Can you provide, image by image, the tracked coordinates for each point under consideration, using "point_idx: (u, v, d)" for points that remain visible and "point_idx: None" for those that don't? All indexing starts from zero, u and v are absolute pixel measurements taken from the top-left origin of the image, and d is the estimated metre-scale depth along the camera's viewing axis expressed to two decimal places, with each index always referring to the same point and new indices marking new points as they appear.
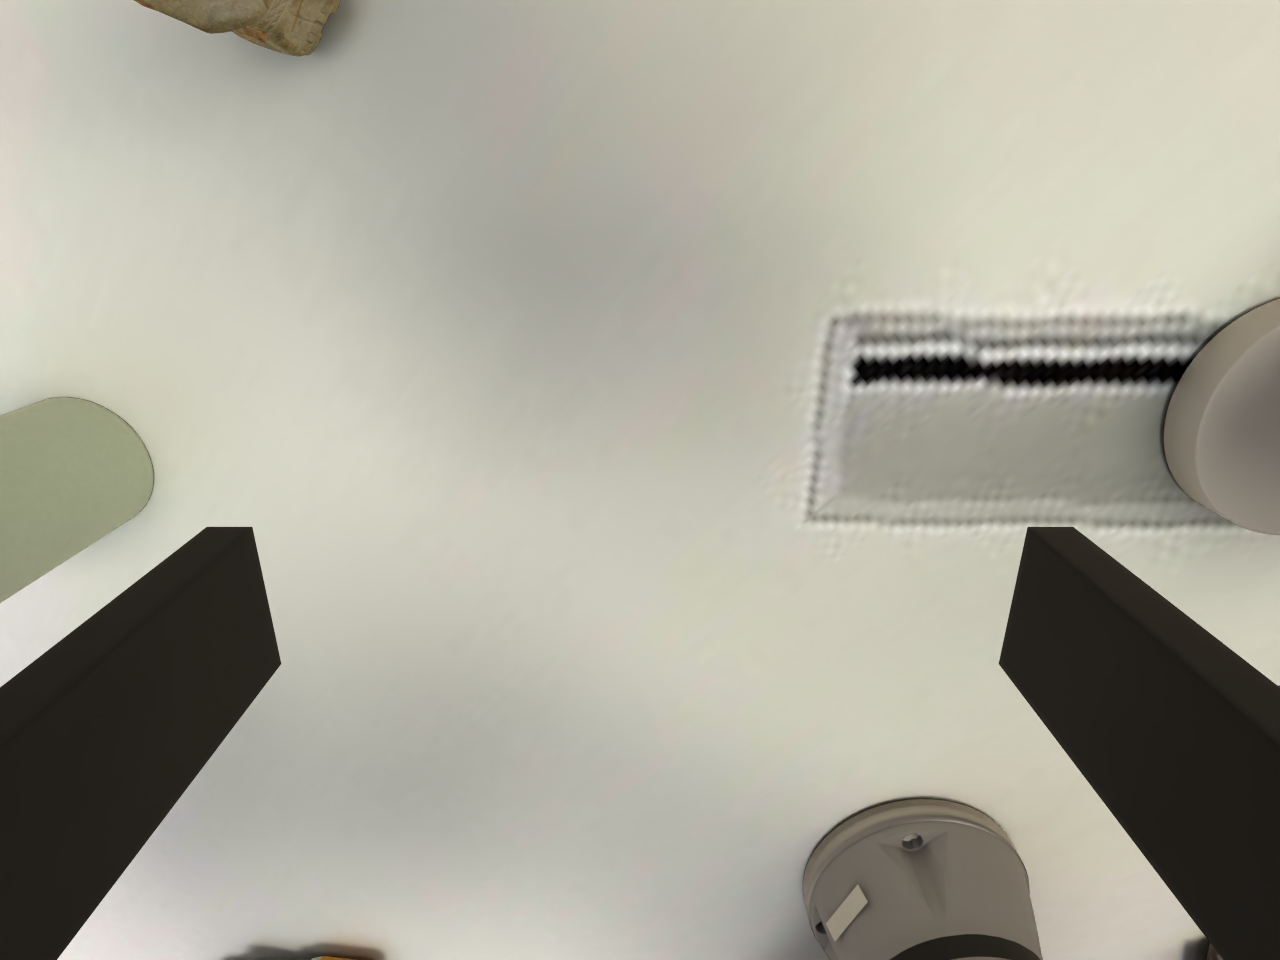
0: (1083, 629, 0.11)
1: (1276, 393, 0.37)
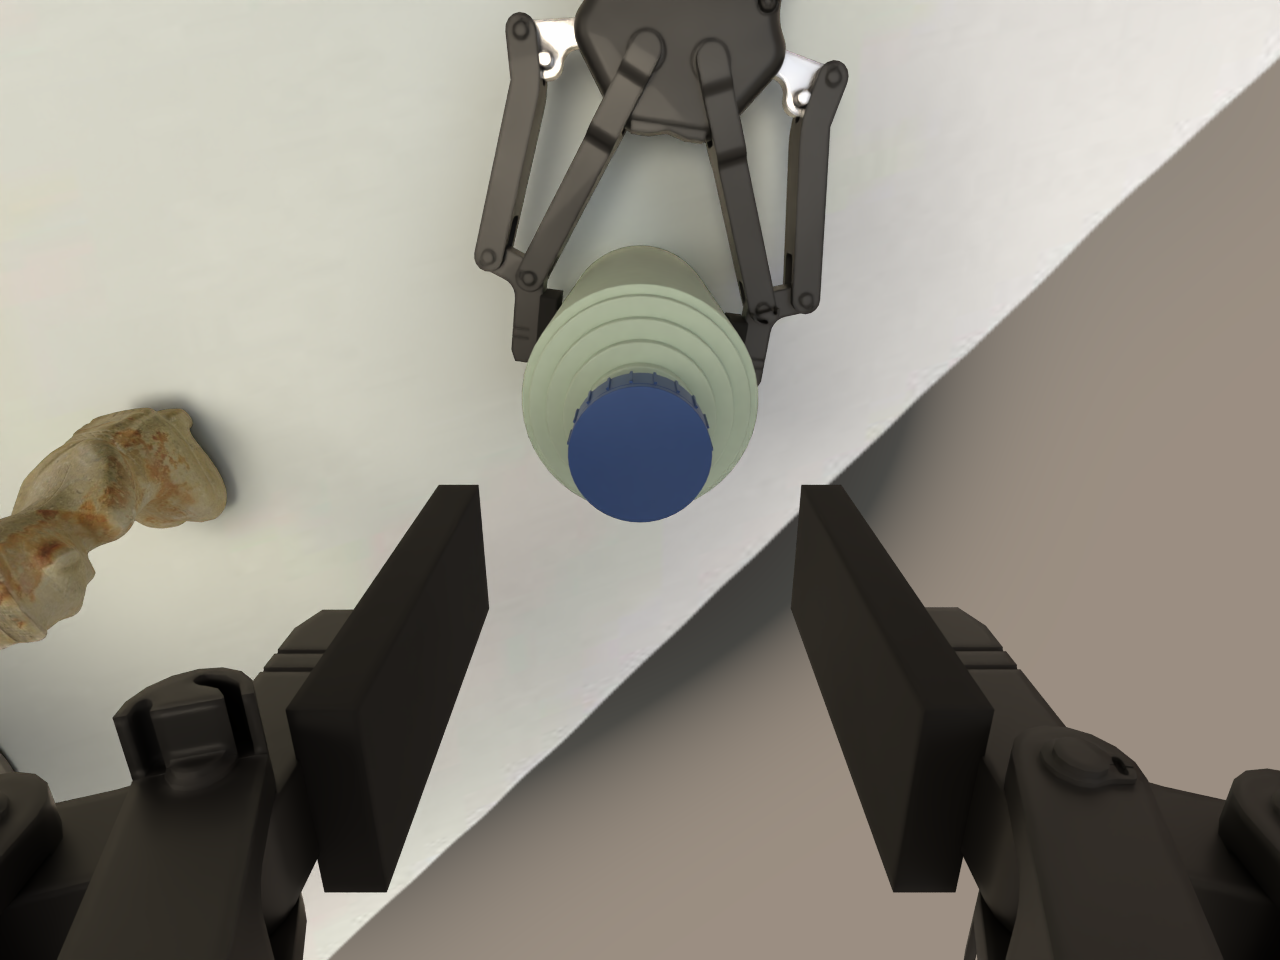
0: (821, 567, 0.12)
1: None
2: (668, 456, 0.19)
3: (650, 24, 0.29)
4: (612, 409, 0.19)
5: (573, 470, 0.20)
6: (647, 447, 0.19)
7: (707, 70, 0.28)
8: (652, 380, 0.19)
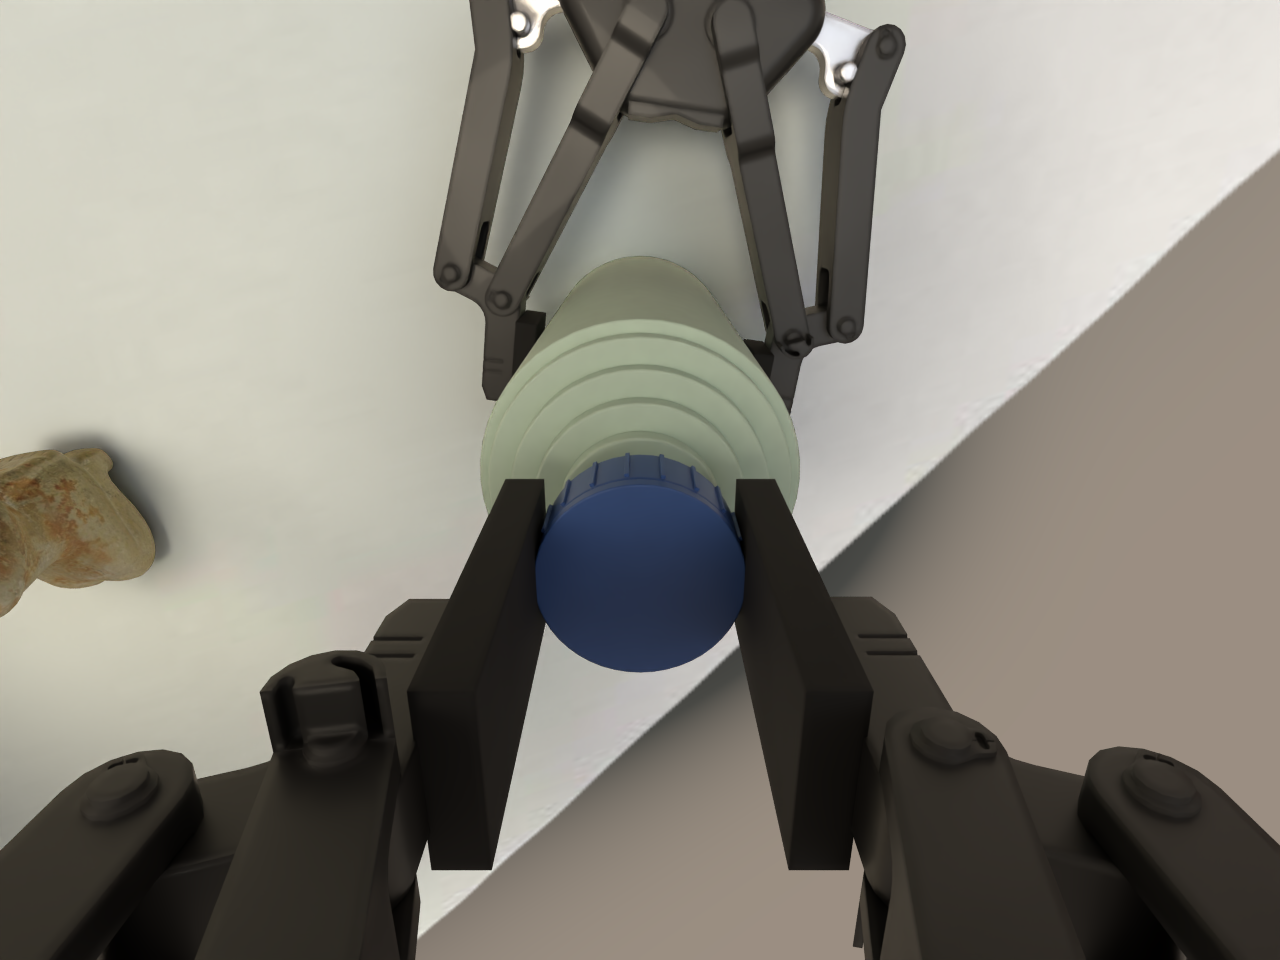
0: (747, 558, 0.13)
1: None
2: (682, 583, 0.13)
3: None
4: (598, 517, 0.13)
5: (542, 602, 0.13)
6: (651, 570, 0.13)
7: (726, 36, 0.22)
8: (658, 471, 0.13)
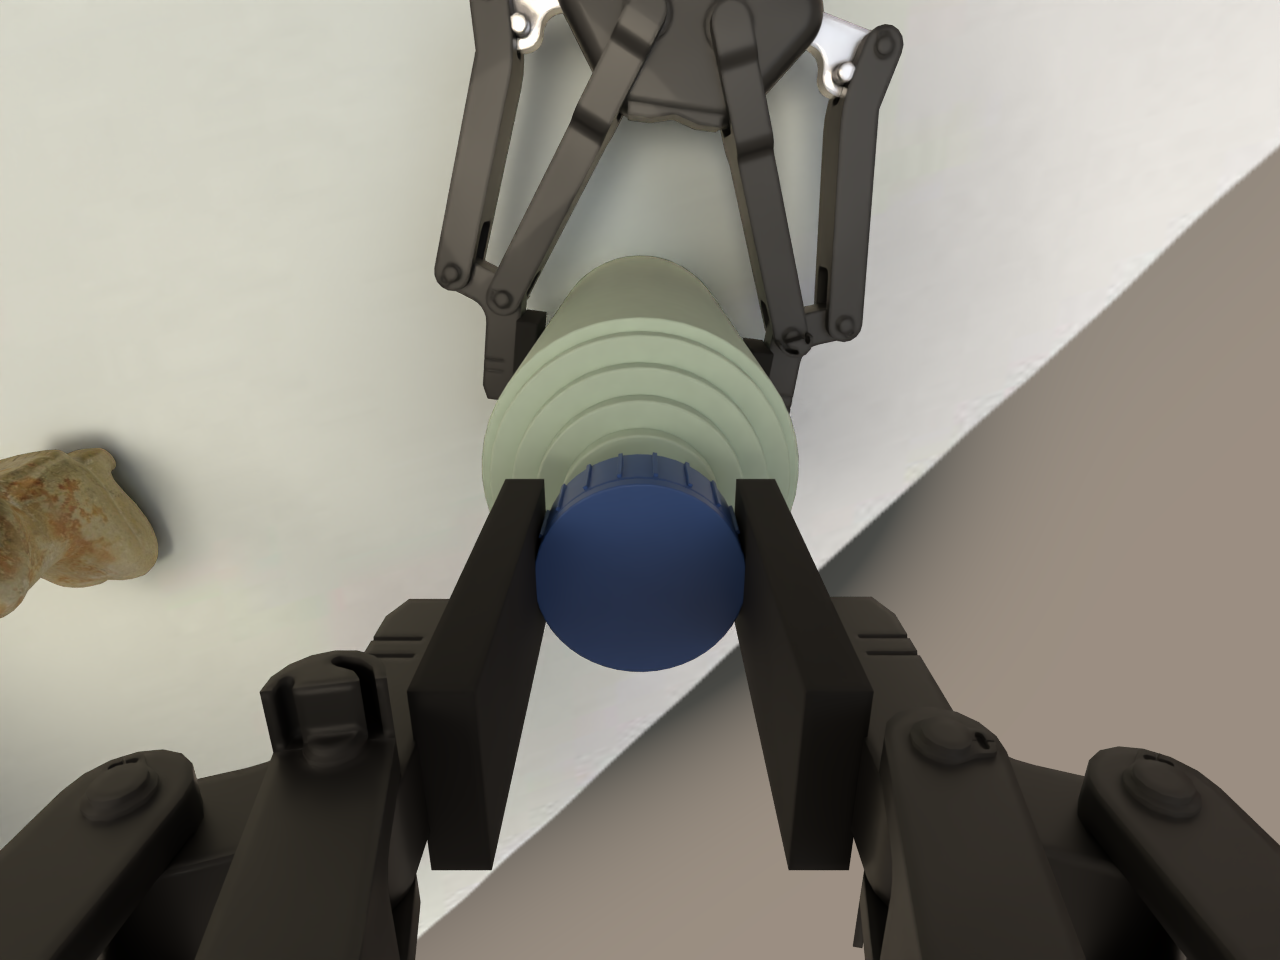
0: (747, 558, 0.13)
1: None
2: (608, 558, 0.13)
3: None
4: (620, 651, 0.14)
5: (725, 627, 0.14)
6: (622, 585, 0.13)
7: (725, 36, 0.22)
8: None
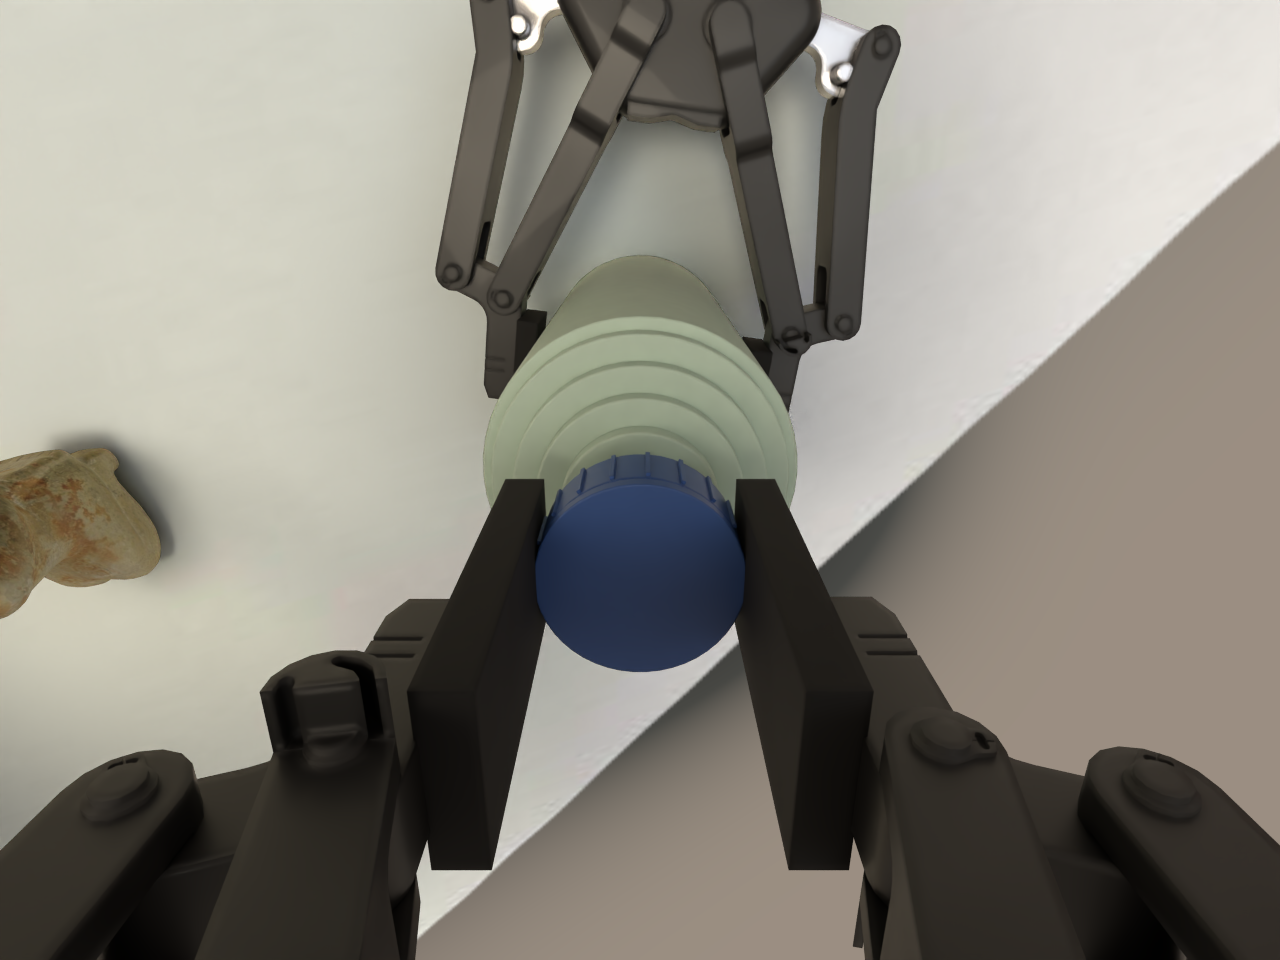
0: (747, 559, 0.13)
1: None
2: (643, 619, 0.13)
3: None
4: (712, 544, 0.13)
5: (611, 492, 0.13)
6: (655, 592, 0.13)
7: (724, 37, 0.22)
8: None
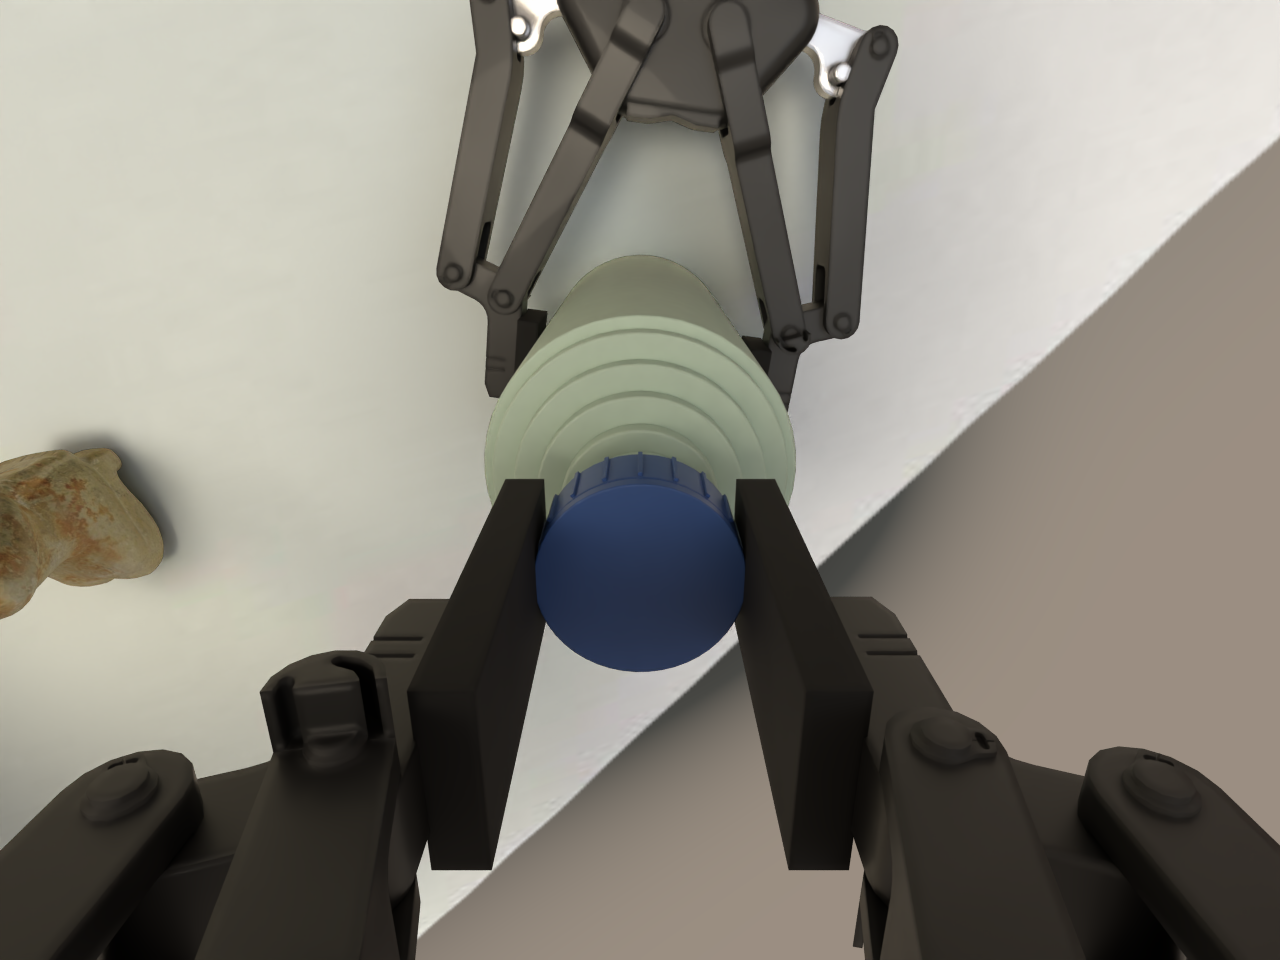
0: (747, 559, 0.13)
1: None
2: (667, 554, 0.13)
3: None
4: (558, 568, 0.13)
5: (595, 658, 0.14)
6: (636, 567, 0.13)
7: (722, 38, 0.23)
8: None
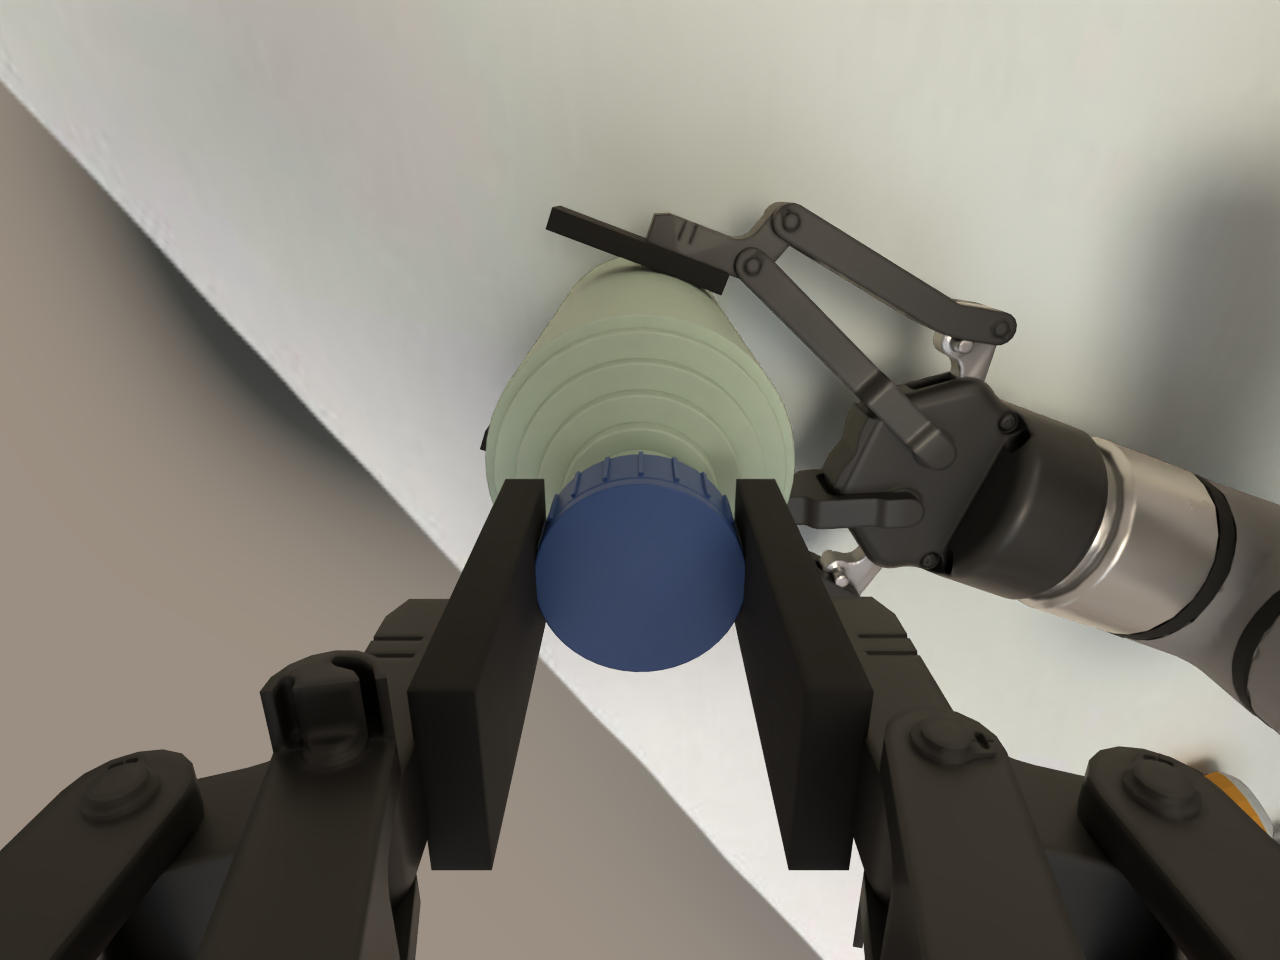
0: (747, 559, 0.13)
1: None
2: (667, 554, 0.13)
3: None
4: (558, 568, 0.13)
5: (594, 657, 0.14)
6: (636, 567, 0.13)
7: (899, 507, 0.28)
8: None
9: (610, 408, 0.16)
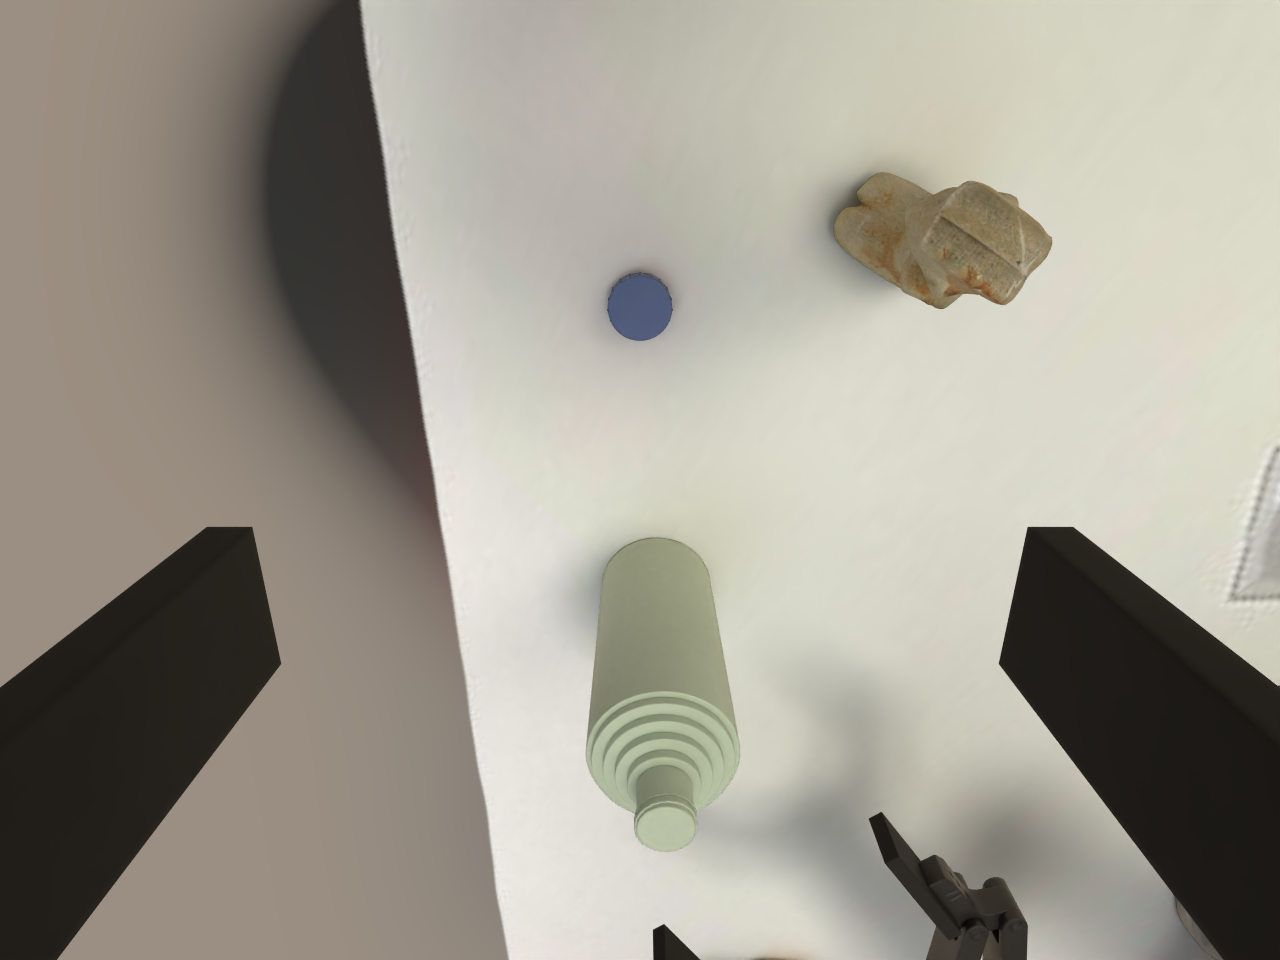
0: (1083, 629, 0.11)
1: None
2: (647, 298, 0.44)
3: None
4: (615, 303, 0.44)
5: (626, 335, 0.45)
6: (638, 303, 0.44)
7: None
8: (619, 282, 0.44)
9: (677, 743, 0.35)
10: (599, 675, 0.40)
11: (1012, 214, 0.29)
